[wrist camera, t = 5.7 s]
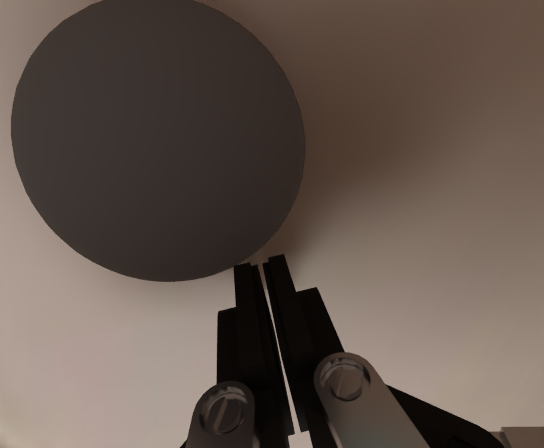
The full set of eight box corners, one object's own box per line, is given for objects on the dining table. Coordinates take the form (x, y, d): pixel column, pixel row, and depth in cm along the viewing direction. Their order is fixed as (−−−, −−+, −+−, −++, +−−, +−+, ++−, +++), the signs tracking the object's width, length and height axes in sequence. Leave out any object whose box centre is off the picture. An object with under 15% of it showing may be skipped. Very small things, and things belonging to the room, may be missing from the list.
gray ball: (317, 320, 7) (292, 165, 11) (344, 53, 3) (290, -48, 7) (67, 338, 7) (128, 178, 11) (-239, 100, 3) (27, -26, 7)
